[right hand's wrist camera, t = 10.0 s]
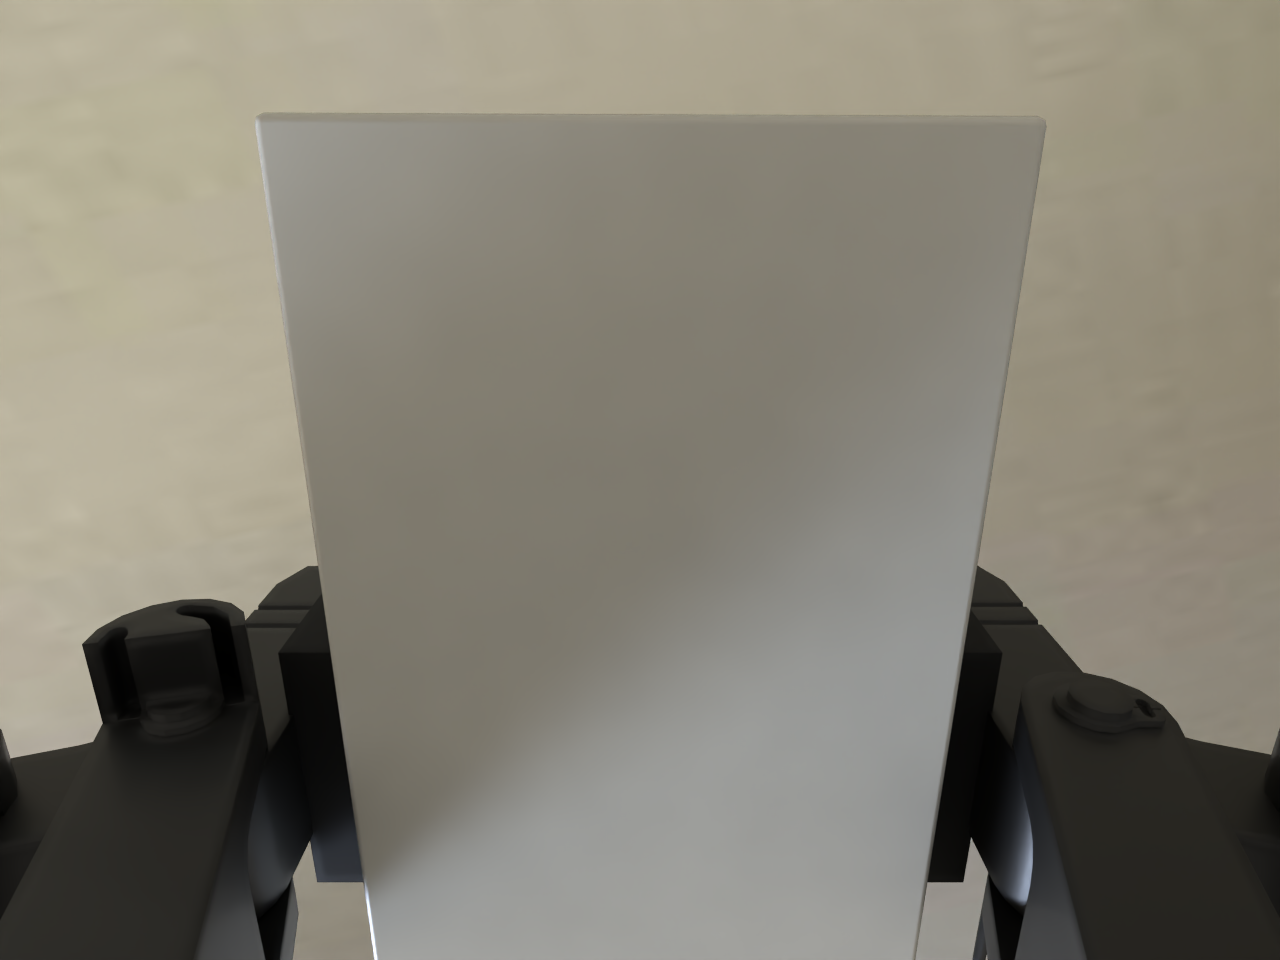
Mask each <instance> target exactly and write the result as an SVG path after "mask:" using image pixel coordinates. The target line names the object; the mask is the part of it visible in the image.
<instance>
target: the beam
mask: <svg viewBox="0 0 1280 960" xmlns="http://www.w3.org/2000/svg"><path fill="white" fill-rule="evenodd" d="M255 127H256V134H257V141H258V148H259V155H260V162H261V169H262V176H263V183H264V190H265V197H266V204H267V211H268V218H269V225H270V232H271V239H272V246H273V253H274V260H275V267H276V274H277V281H278V288H279V295H280V302H281V309H282V316H283V323H284V330H285V337H286V344H287V351H288V358H289V365H290V372H291V379H292V386H293V393H294V400H295V407H296V414H297V421H298V428H299V435H300V442H301V449H302V456H303V463H304V470H305V477H306V484H307V491H308V498H309V505H310V512H311V519H312V526H313V533H314V540H315V547H316V554H317V561H318V568H319V575H320V582H321V589H322V596H323V603H324V610H325V617H326V624H327V631H328V638H329V645H330V652H331V659H332V666H333V673H334V680H335V687H336V694H337V701H338V708H339V714H340V721H341V728H342V735H343V742H344V749H345V756H346V763H347V770H348V777H349V784H350V791H351V798H352V805H353V812H354V819H355V826H356V833H357V840H358V847H359V854H360V861H361V868H362V875H363V882H364V889H365V896H366V903H367V910H368V917H369V924H370V931H371V938H372V945H373V952H374V959H375V960H915V957H916V951H917V944H918V938H919V931H920V925H921V919H922V912H923V906H924V900H925V893H926V887H927V881H928V874H929V868H930V862H931V855H932V849H933V843H934V836H935V830H936V824H937V817H938V811H939V804H940V798H941V792H942V785H943V779H944V773H945V766H946V760H947V754H948V747H949V741H950V735H951V728H952V722H953V716H954V709H955V703H956V697H957V690H958V684H959V677H960V671H961V665H962V658H963V652H964V646H965V639H966V633H967V627H968V620H969V614H970V608H971V601H972V595H973V589H974V582H975V576H976V569H977V563H978V557H979V550H980V544H981V538H982V531H983V525H984V519H985V512H986V506H987V500H988V493H989V487H990V481H991V474H992V468H993V462H994V455H995V449H996V442H997V436H998V430H999V423H1000V417H1001V411H1002V404H1003V398H1004V392H1005V385H1006V379H1007V373H1008V366H1009V360H1010V354H1011V347H1012V341H1013V335H1014V328H1015V322H1016V315H1017V309H1018V303H1019V296H1020V290H1021V284H1022V277H1023V271H1024V265H1025V258H1026V252H1027V246H1028V239H1029V233H1030V227H1031V220H1032V214H1033V208H1034V201H1035V195H1036V188H1037V182H1038V176H1039V169H1040V163H1041V157H1042V150H1043V144H1044V138H1045V131H1046V122H1045V120H1044V119H1042V118H1040V117H1038V116H892V115H666V114H440V113H262V114H260V115H258V116H256V120H255Z"/></svg>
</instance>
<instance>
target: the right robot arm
mask: <svg viewBox="0 0 1280 960" xmlns="http://www.w3.org/2000/svg"><path fill="white" fill-rule="evenodd" d="M258 607H259V608H258V610H254V611H253V613H252V614H251V615H250V616H249V617H248V618H247V620H246V621H245V616H244V612H243V611H242V610H240V609H239V608H237V607H236V606H235V605H233V604H232V603H228V602H223V601H218V600H213V599H191V600H178V601H173V602H168V603H162V604H157V605H152V606H149V607H146V608H143V609H140V610H137V611H134V612H132V613H129V614H126V615H123V616H121V617H119V618H117V619H115V620H114V621H112V622H110V623H108V624H106V625H104V626H103V627H101V628H99V629H97V630H96V631H95V632H94V633H93V634H92V635H91V636H90V637H89V638H88V639H87V640H86V641H85V642H84V643H83V644H82V646H83V650H84V654H85V657H86V661H87V665H88V669H89V673H90V676H91V680H92V684H93V688H94V692H95V695H96V699H97V703H98V707H99V711H100V714H101V718H102V722H103V724H102V726H101V728H100V730H99V732H98V734H97V736H96V738H95V740H94V741H93V742H91V743H87V744H83V745H79V746H74V747H68V748H63V749H58V750H53V751H47V752H42V753H37V754H32V755H26V756H21V757H16V758H11V759H10V755H9V752H8V749H7V746H6V743H5V740H4V736H3V733H2V730H1V729H0V960H292V959H293V952H294V944H295V936H296V929H297V921H298V907H297V900H296V893H295V888H294V882H293V877H292V876H293V874H294V872H295V870H296V868H297V866H298V864H299V862H300V860H301V857H302V855H303V853H304V851H305V849H306V847H307V845H308V843H309V841H310V843H311V848H312V854H313V860H314V866H315V872H316V878H317V882H363V875H362V868H361V861H360V854H359V847H358V840H357V833H356V826H355V819H354V812H353V805H352V798H351V791H350V784H349V777H348V770H347V763H346V756H345V749H344V742H343V735H342V728H341V721H340V714H339V708H338V701H337V694H336V687H335V680H334V673H333V666H332V659H331V652H330V645H329V638H328V631H327V624H326V617H325V610H324V603H323V596H322V589H321V582H320V575H319V568H318V566H307V567H306V568H304V569H302V570H300V571H299V572H297V573H295V574H294V575H292V576H290V577H288V578H287V579H285V580H283V581H282V582H280V583H278V584H277V585H276V586H275V587H274V588H273V589H272V590H271V592H270V593H269V594H268V595H267V596H266V597H265V599H264V600H263V601H262V602H261V603H260V604H259V606H258ZM971 838H972V840H973V842H974V844H975V846H976V848H977V850H978V852H979V854H980V856H981V858H982V860H983V862H984V864H985V866H986V868H987V870H988V877H987V882H986V888H985V893H984V899H983V904H982V910H981V915H980V920H979V926H978V931H977V937H976V942H975V948H974V953H973V960H985V959H986V955H987V957H988V960H1280V729H1279V733H1278V736H1277V739H1276V742H1275V745H1274V748H1273V752H1272V755H1270V754H1264V753H1259V752H1254V751H1248V750H1243V749H1238V748H1233V747H1227V746H1222V745H1217V744H1212V743H1206V742H1201V741H1197V740H1193V739H1189V738H1185V736H1184V734H1183V732H1182V730H1181V728H1180V727H1179V725H1178V723H1177V721H1176V720H1175V719H1174V718H1173V717H1172V716H1171V714H1170V713H1169V712H1168V711H1167V710H1166V709H1165V707H1164V706H1163V705H1161V704H1160V703H1158V702H1157V701H1155V700H1154V699H1152V698H1151V697H1149V696H1148V695H1146V694H1145V693H1143V692H1142V691H1140V690H1138V689H1135V688H1133V687H1130V686H1128V685H1125V684H1123V683H1120V682H1118V681H1116V680H1113V679H1110V678H1105V677H1101V676H1096V675H1092V674H1087V673H1083V672H1082V671H1081V670H1080V668H1079V667H1078V666H1077V665H1076V664H1075V663H1074V661H1073V660H1072V659H1071V658H1070V657H1069V656H1068V655H1067V653H1066V652H1065V651H1064V650H1063V649H1062V648H1061V646H1060V645H1059V644H1058V643H1057V642H1056V641H1055V639H1054V638H1053V637H1052V636H1051V635H1050V634H1049V633H1048V631H1047V630H1046V629H1045V628H1044V627H1043V626H1042V625H1038V620H1037V619H1036V618H1035V616H1034V615H1033V614H1032V613H1031V612H1030V611H1029V609H1028V608H1027V607H1023V602H1022V601H1021V600H1020V599H1019V598H1018V597H1017V596H1016V594H1015V593H1014V592H1013V591H1012V590H1011V589H1010V587H1009V586H1008V585H1007V584H1006V583H1005V582H1004V581H1003V580H1001V579H999V578H997V577H996V576H994V575H992V574H991V573H989V572H987V571H985V570H984V569H982V568H980V567H978V566H977V569H976V576H975V582H974V589H973V595H972V601H971V608H970V614H969V620H968V627H967V633H966V639H965V646H964V652H963V658H962V665H961V671H960V677H959V684H958V690H957V697H956V703H955V709H954V716H953V722H952V728H951V735H950V741H949V747H948V754H947V760H946V766H945V773H944V779H943V785H942V792H941V798H940V804H939V811H938V817H937V824H936V830H935V836H934V843H933V849H932V855H931V862H930V868H929V874H928V881H927V882H963V881H964V875H965V869H966V863H967V858H968V852H969V846H970V840H971Z"/></svg>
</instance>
